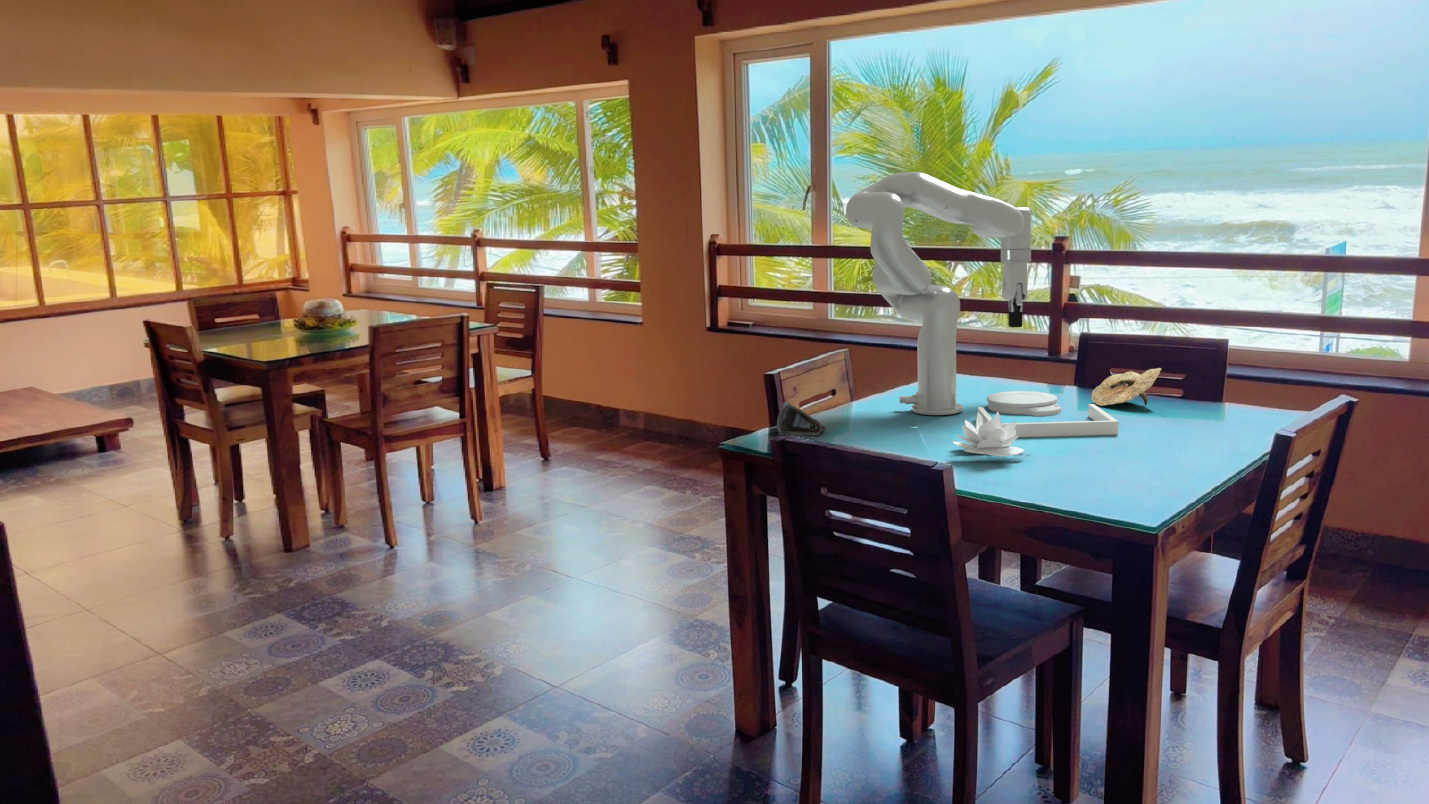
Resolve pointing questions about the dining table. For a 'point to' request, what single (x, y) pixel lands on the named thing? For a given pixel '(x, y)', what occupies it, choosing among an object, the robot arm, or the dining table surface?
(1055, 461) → the dining table surface
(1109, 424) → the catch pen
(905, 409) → the dining table surface
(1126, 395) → the beige piece
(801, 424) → the dark rounded triangle
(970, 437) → the lotus flower
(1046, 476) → the dining table surface
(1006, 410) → the lid
